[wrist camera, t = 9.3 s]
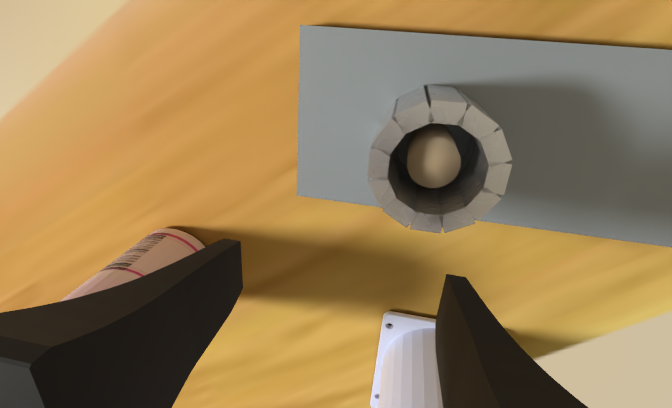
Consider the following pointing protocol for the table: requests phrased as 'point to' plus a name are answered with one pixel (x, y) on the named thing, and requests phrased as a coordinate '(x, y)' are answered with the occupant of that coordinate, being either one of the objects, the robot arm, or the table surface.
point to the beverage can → (141, 260)
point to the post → (432, 156)
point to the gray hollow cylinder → (475, 171)
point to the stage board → (503, 123)
